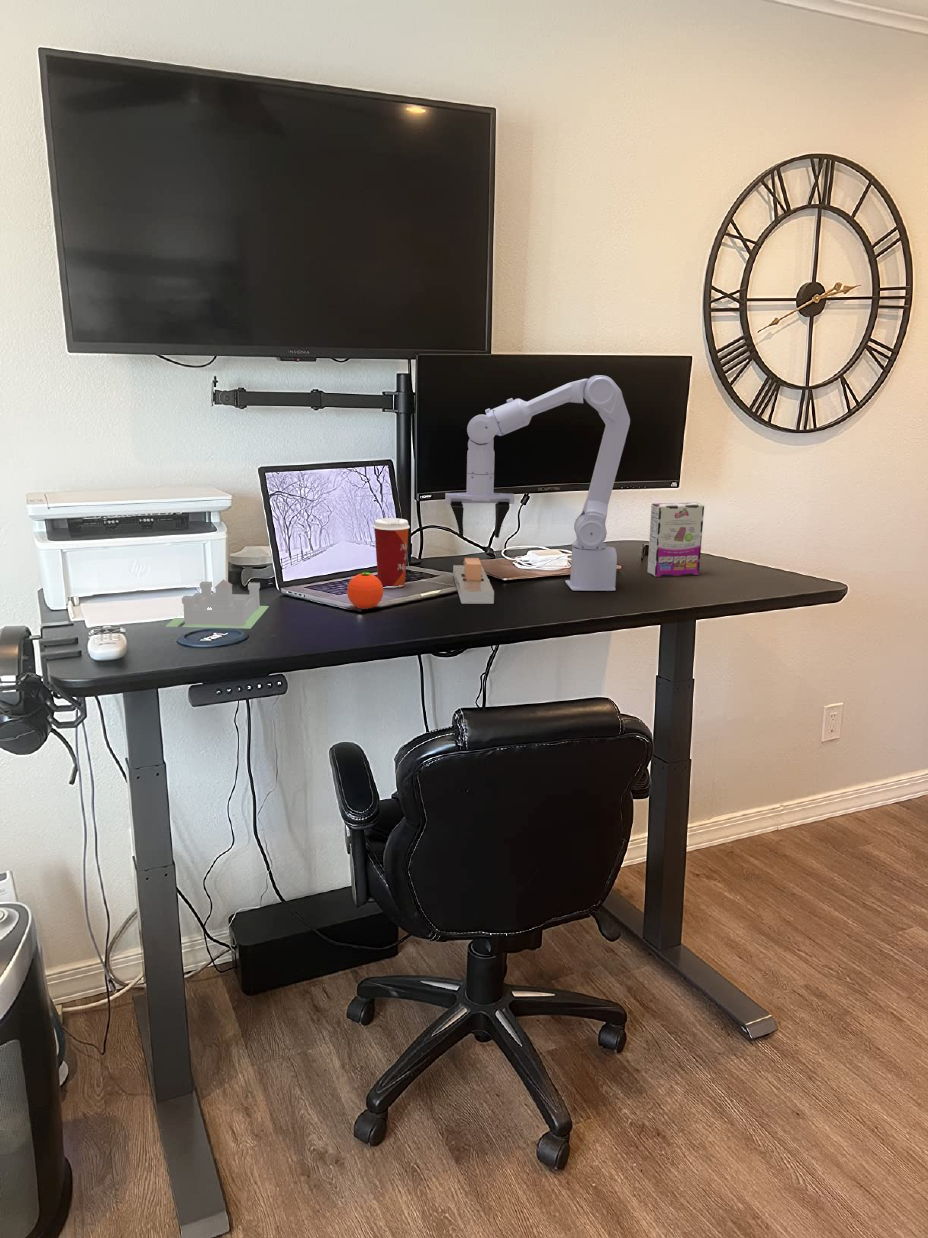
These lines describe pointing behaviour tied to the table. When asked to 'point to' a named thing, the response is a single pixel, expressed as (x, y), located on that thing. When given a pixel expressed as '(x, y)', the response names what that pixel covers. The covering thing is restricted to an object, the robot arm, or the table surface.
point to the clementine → (365, 590)
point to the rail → (473, 587)
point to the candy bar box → (675, 539)
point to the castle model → (221, 607)
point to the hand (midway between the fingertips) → (478, 536)
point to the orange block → (472, 569)
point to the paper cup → (391, 550)
